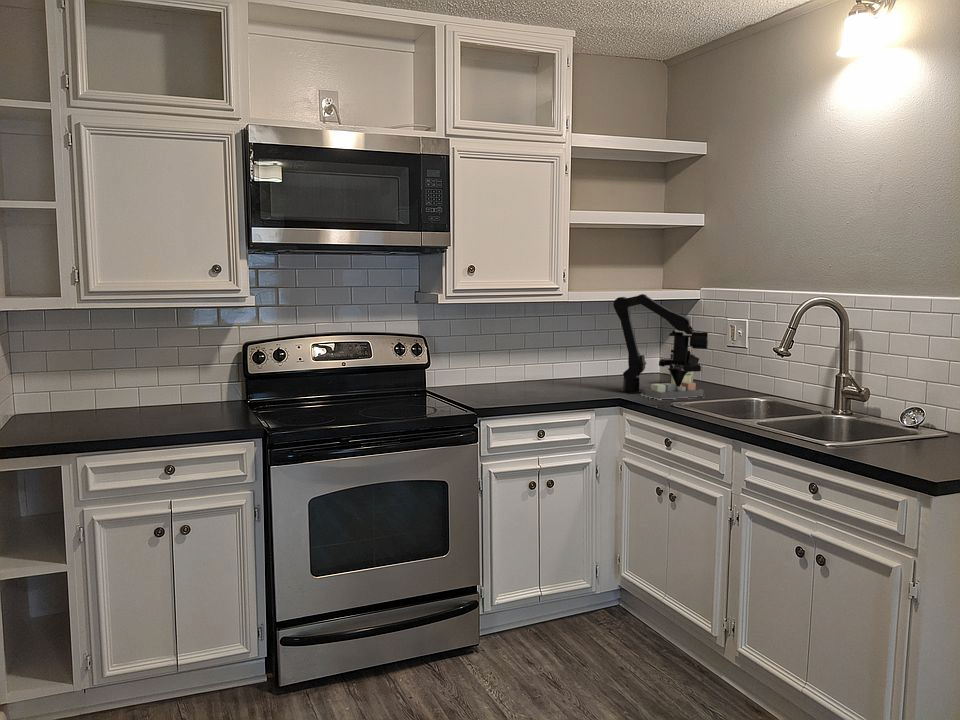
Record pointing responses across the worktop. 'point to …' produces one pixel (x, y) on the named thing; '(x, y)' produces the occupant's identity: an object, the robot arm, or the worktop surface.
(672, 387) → the key
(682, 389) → the key
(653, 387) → the key
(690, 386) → the key
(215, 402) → the worktop surface
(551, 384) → the worktop surface
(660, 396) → the keypad board
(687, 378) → the coffee can
